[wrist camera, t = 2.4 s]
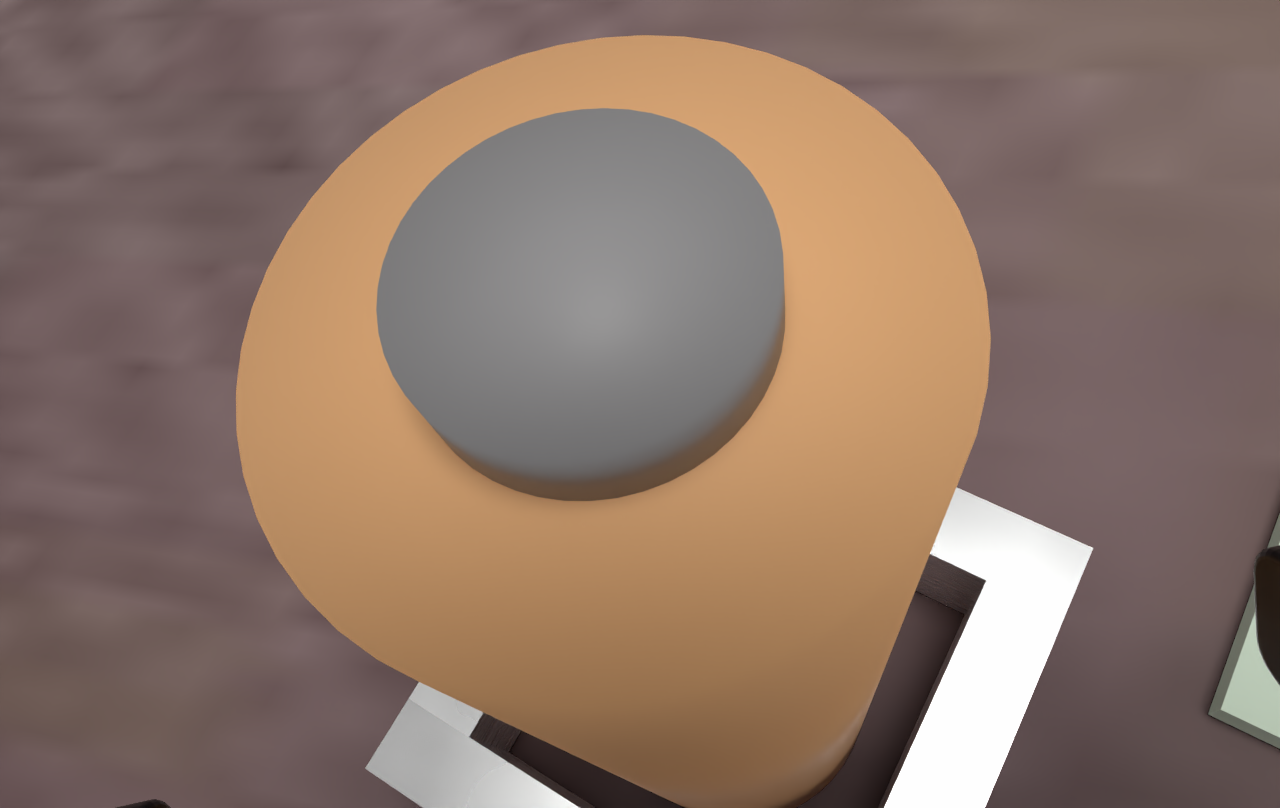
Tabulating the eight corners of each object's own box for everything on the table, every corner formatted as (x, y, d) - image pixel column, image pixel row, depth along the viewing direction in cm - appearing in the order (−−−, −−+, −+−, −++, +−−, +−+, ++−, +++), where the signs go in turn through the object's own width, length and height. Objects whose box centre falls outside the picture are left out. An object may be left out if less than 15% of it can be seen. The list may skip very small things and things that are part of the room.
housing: (853, 1072, 16) (860, 1105, 14) (417, 780, 19) (365, 768, 17) (1059, 586, 19) (1092, 548, 16) (649, 397, 22) (630, 343, 19)
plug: (793, 874, 17) (754, 903, 4) (565, 735, 19) (24, 443, 6) (907, 632, 19) (1141, 93, 6) (686, 521, 20) (469, -99, 7)
